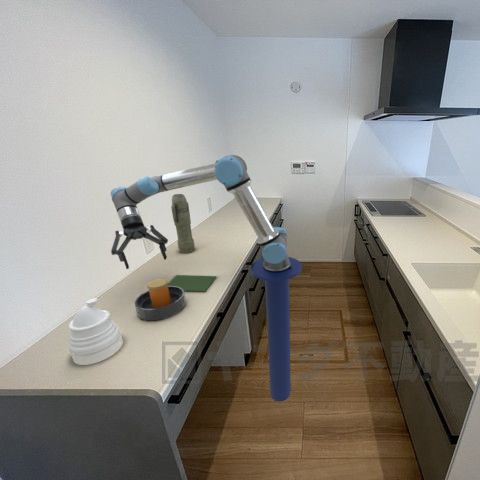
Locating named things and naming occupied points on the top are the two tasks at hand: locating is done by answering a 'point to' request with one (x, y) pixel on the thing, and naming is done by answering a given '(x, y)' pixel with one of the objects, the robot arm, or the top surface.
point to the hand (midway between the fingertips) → (147, 262)
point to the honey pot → (93, 335)
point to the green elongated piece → (182, 223)
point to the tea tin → (159, 293)
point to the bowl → (148, 313)
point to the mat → (192, 282)
